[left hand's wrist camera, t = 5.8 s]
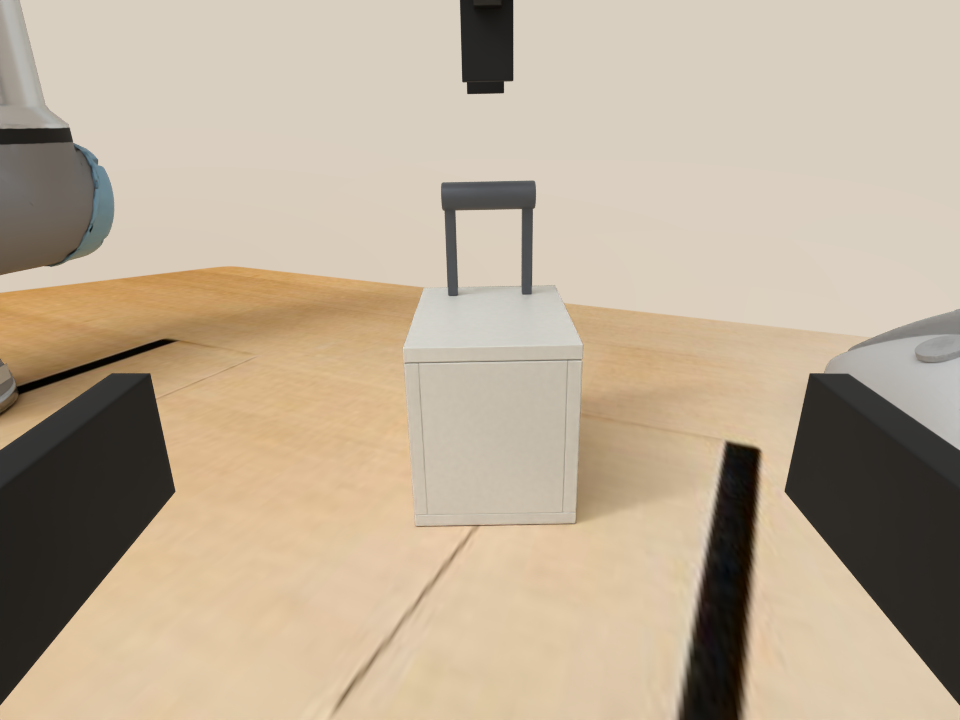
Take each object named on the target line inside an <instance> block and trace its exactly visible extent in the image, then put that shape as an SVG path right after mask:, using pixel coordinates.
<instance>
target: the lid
mask: <svg viewBox="0 0 960 720" xmlns="http://www.w3.org/2000/svg"><path fill="white" fill-rule="evenodd" d="M441 199H442V209H443V210H444V211H445V231H446V256H447V281H448V287H446V288H424V289H423V292H422V295H421V298H420V300H419V303H418V306H417V309H416V312H415V315H414V318H413V321H412V324H411V326H410V329H409V332H408V335H407V338H406V341H405V344H404V347H403V359H404V362H405V363H410V362H463V361H516V360H569V359H583V344H582V341H581V339H580V337H579V335H578V333H577V331H576V329H575V327H574V324H573V322H572V320H571V318H570V316H569V314H568V312H567V310H566V307H565V305H564V303H563V301H562V299H561V297H560V295H559V293H558V290H557V288H556V286H555V285H547V286H532V232H533V209H534V208H535V203H536V186H535V181H496V182H447V183H442V185H441ZM495 209H522V286H498V287H458V276H457V248H456V217H455V210H495Z"/></svg>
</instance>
